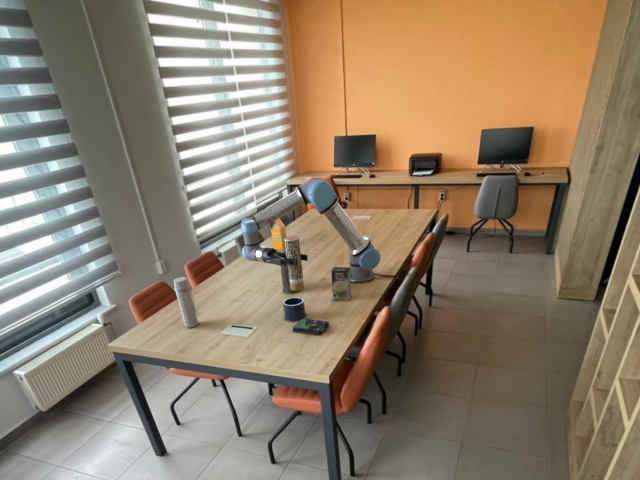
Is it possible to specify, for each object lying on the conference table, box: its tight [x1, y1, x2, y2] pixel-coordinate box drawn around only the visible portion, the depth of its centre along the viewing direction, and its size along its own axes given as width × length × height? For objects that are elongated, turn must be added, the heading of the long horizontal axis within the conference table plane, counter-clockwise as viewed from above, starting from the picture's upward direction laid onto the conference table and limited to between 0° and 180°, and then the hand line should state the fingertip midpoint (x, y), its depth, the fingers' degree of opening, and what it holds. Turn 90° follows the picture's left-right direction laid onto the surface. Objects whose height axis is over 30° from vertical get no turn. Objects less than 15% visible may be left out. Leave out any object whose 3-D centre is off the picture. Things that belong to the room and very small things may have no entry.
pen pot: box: [282, 296, 306, 322], centre depth 229 cm, size 10×10×8 cm
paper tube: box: [285, 235, 305, 292], centre depth 218 cm, size 7×7×25 cm
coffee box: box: [330, 266, 352, 301], centre depth 239 cm, size 9×6×16 cm
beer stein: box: [280, 259, 300, 294], centre depth 258 cm, size 15×11×20 cm
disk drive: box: [292, 318, 330, 336], centre depth 217 cm, size 10×3×15 cm
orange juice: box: [270, 217, 287, 251], centre depth 328 cm, size 8×9×20 cm
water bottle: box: [173, 276, 200, 329], centre depth 232 cm, size 9×8×25 cm
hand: (302, 260), depth 214 cm, fingers closed on paper tube, 7 cm apart
